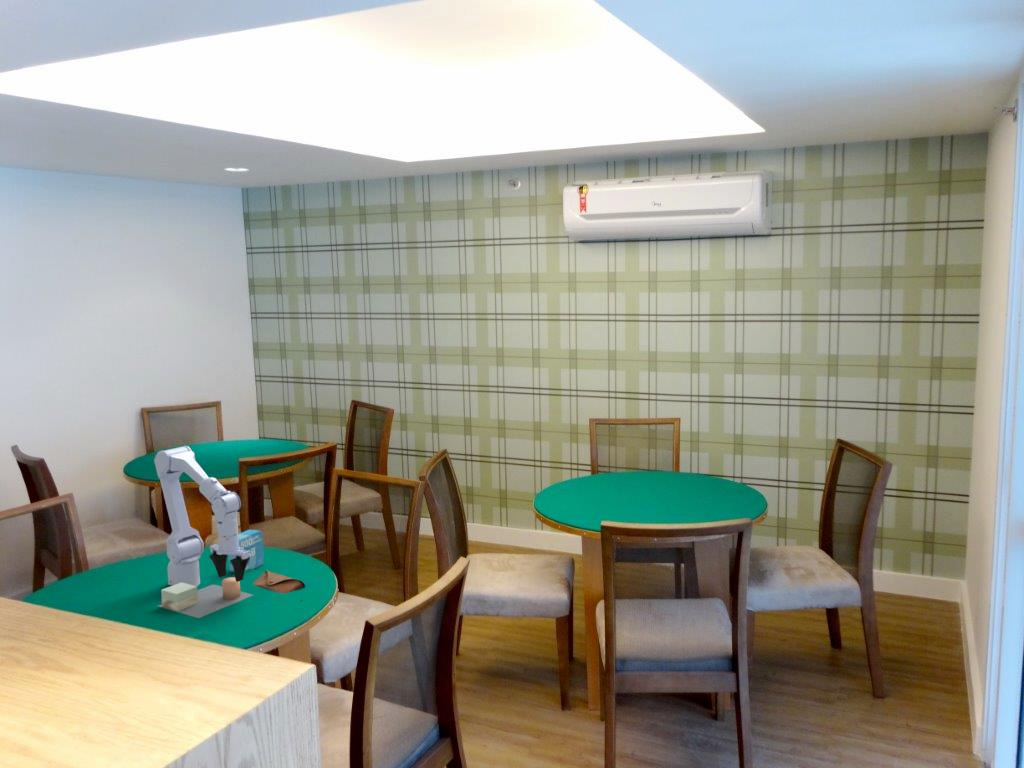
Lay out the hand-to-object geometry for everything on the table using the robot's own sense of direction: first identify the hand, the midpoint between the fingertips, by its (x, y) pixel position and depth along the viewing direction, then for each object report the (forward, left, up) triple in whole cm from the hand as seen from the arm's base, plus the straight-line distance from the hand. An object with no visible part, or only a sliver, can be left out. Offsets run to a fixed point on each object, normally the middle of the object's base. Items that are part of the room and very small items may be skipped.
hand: (230, 578), depth 254 cm
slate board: (-4, -6, -7) cm, 10 cm away
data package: (-17, +21, -7) cm, 28 cm away
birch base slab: (-8, -12, -6) cm, 15 cm away
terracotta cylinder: (0, 0, -6) cm, 6 cm away
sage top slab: (-8, -12, -3) cm, 15 cm away
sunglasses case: (+5, +13, -7) cm, 16 cm away
